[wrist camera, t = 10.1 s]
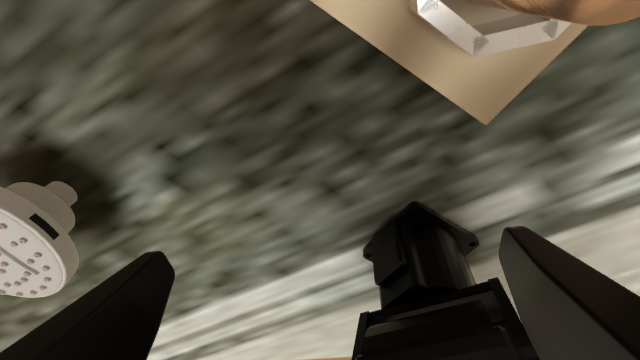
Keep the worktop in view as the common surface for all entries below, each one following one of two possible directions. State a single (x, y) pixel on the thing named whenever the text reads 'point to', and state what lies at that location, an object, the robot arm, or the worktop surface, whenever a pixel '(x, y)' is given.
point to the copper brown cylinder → (571, 9)
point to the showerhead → (36, 238)
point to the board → (450, 51)
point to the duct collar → (487, 29)
